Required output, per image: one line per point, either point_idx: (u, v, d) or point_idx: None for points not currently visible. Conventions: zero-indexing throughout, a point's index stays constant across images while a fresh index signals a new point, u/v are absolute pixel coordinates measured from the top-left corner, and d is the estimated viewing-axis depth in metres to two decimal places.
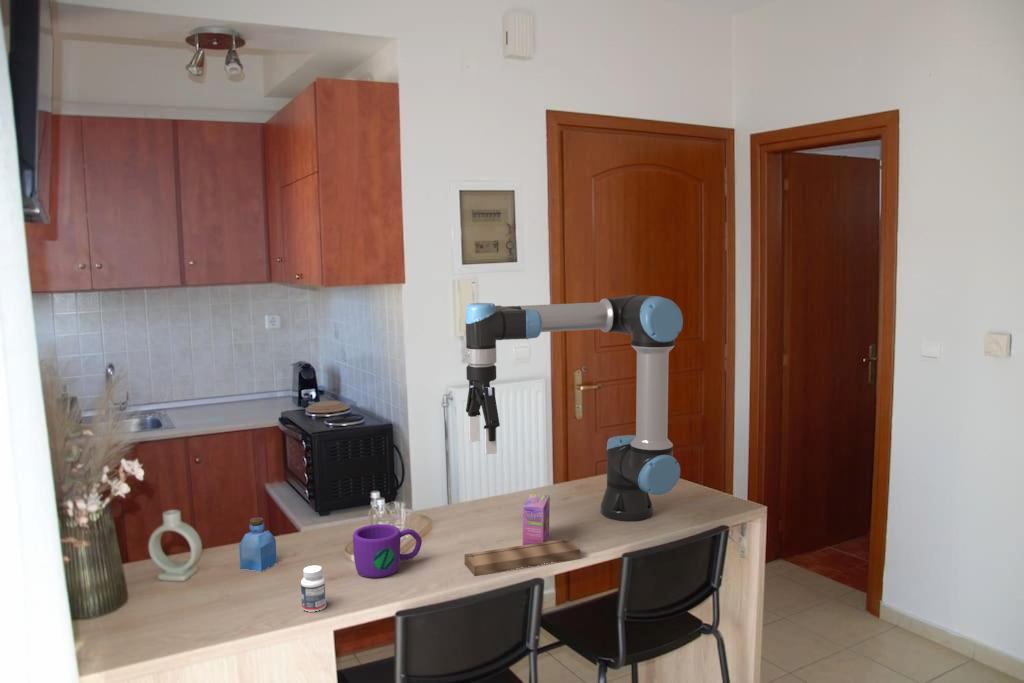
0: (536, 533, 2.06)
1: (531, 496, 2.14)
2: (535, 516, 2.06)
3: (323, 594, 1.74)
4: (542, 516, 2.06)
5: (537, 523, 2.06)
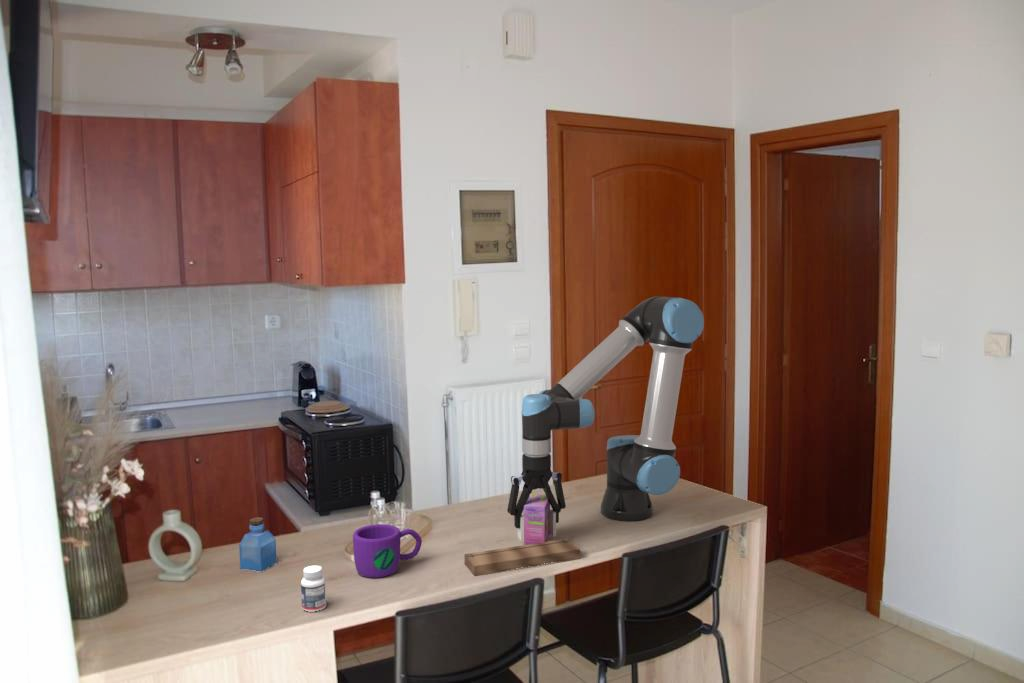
0: (537, 533, 2.06)
1: (532, 496, 2.14)
2: (536, 516, 2.06)
3: (323, 594, 1.74)
4: (543, 516, 2.06)
5: (538, 523, 2.06)
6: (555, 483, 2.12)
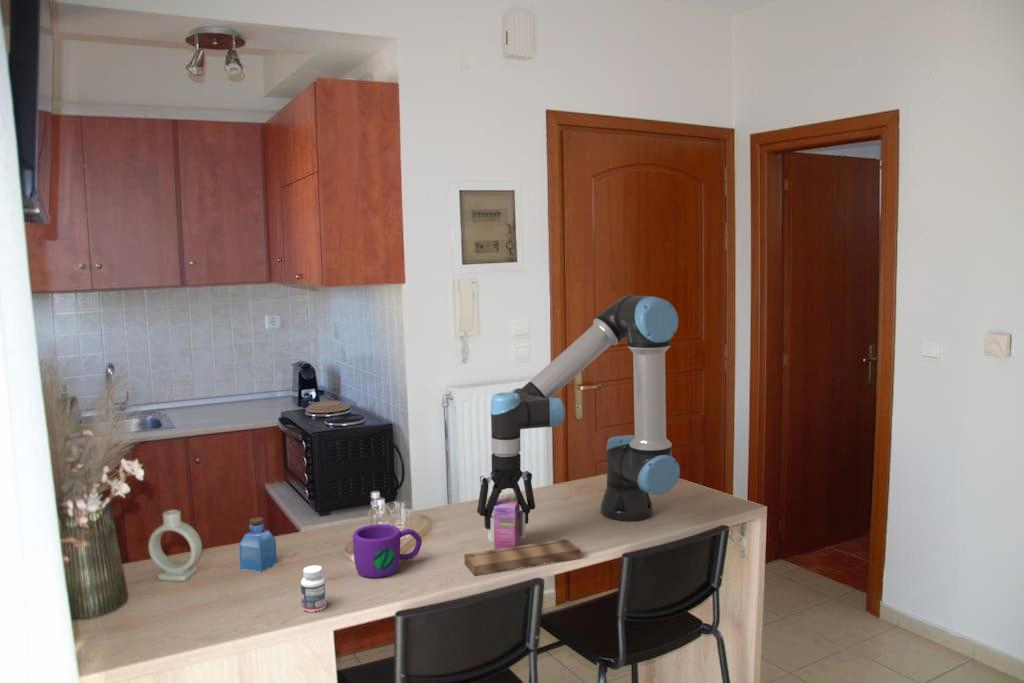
0: (508, 534, 2.03)
1: (501, 497, 2.11)
2: (507, 517, 2.03)
3: (323, 594, 1.74)
4: (514, 517, 2.03)
5: (508, 524, 2.03)
6: (525, 483, 2.08)
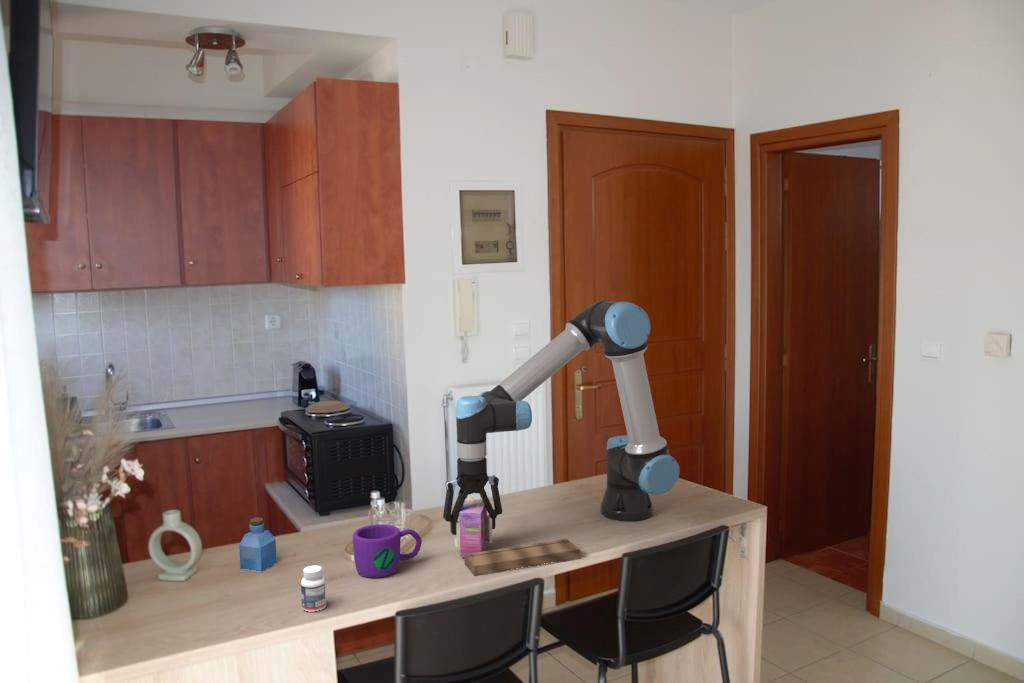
0: (474, 540, 2.00)
1: (468, 502, 2.08)
2: (472, 522, 2.00)
3: (323, 594, 1.74)
4: (479, 522, 2.00)
5: (474, 529, 2.00)
6: (492, 488, 2.05)
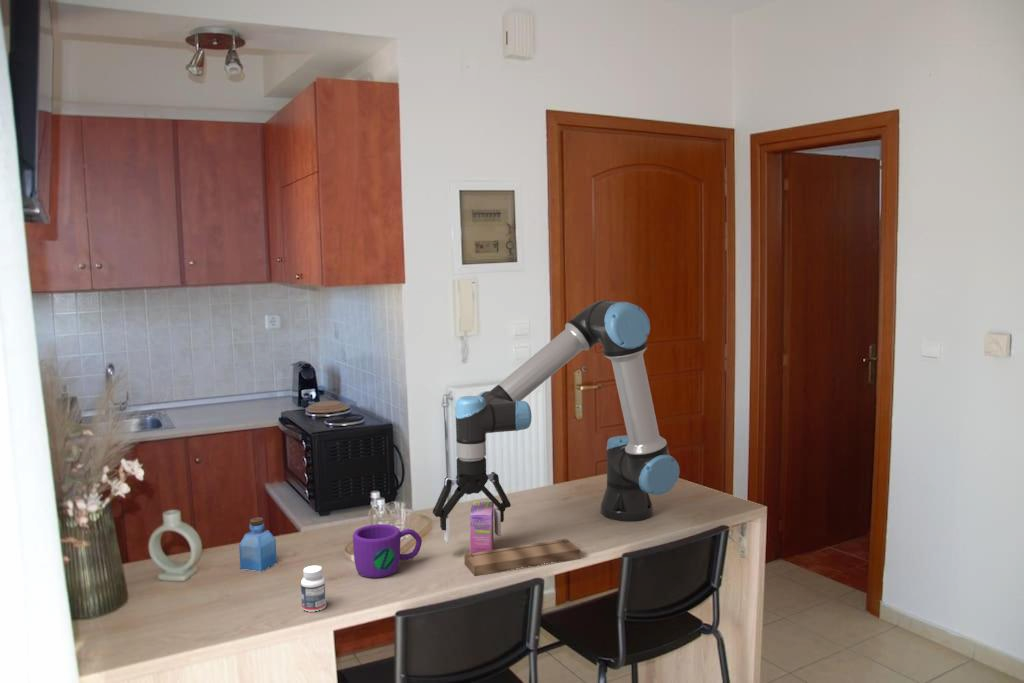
0: (484, 541, 2.01)
1: (475, 504, 2.08)
2: (483, 524, 2.00)
3: (323, 594, 1.74)
4: (490, 524, 2.00)
5: (485, 531, 2.01)
6: (494, 485, 2.05)
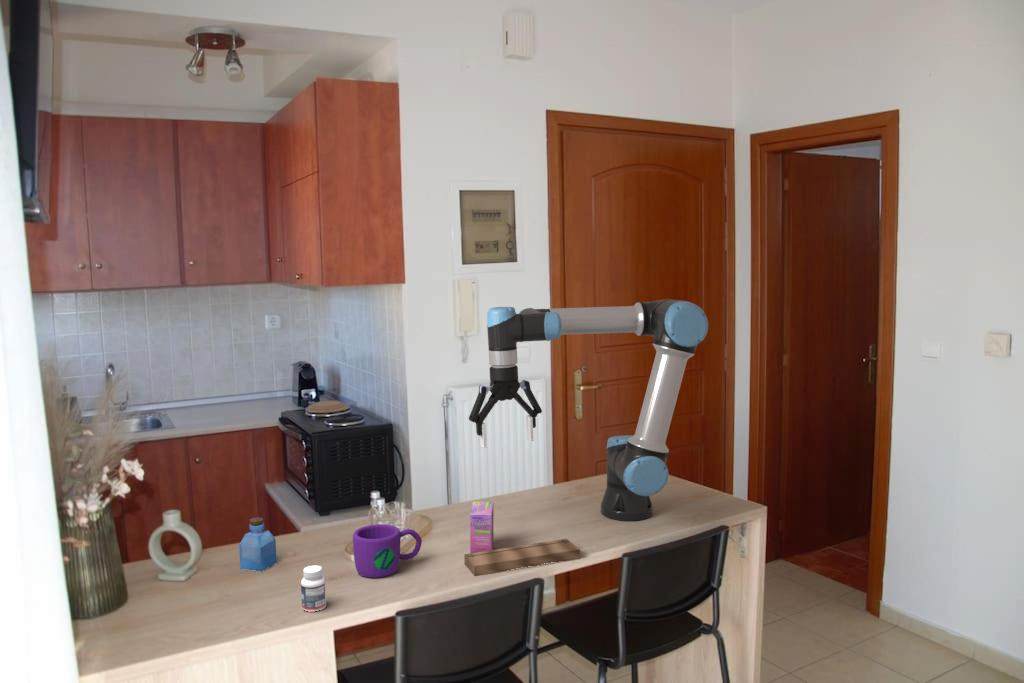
0: (484, 541, 2.01)
1: (475, 504, 2.08)
2: (483, 524, 2.00)
3: (323, 594, 1.74)
4: (490, 524, 2.00)
5: (485, 531, 2.01)
6: (526, 392, 2.15)
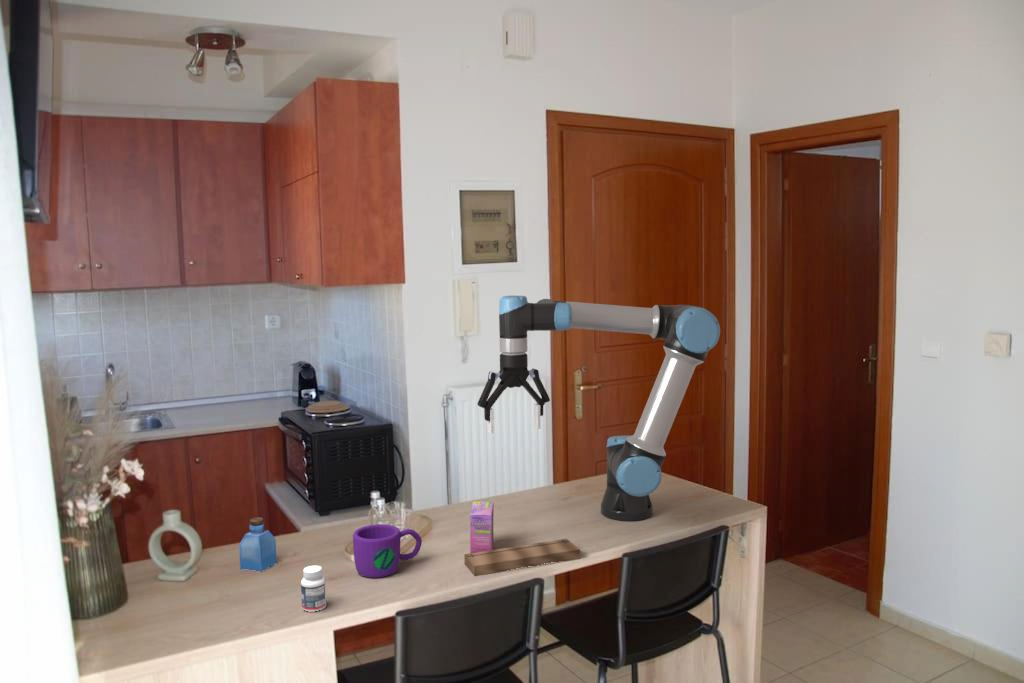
0: (484, 541, 2.01)
1: (475, 504, 2.08)
2: (483, 524, 2.00)
3: (323, 594, 1.74)
4: (490, 524, 2.00)
5: (485, 531, 2.01)
6: (534, 380, 2.18)
